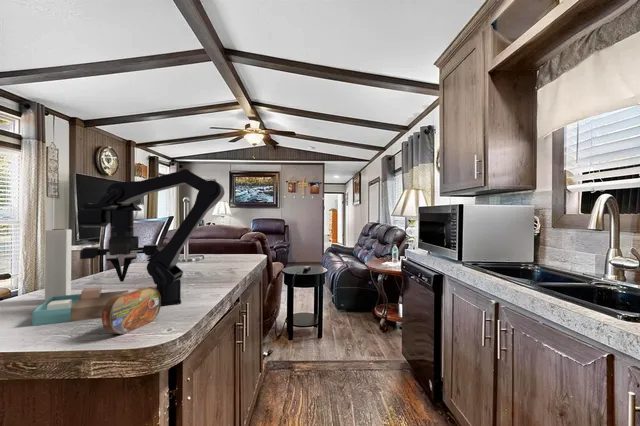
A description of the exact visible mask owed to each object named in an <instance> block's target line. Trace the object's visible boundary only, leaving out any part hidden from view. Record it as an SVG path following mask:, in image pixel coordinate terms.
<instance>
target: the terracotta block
mask: <svg viewBox="0 0 640 426" xmlns="http://www.w3.org/2000/svg"><path fill="white" fill-rule="evenodd" d="M101 293H102V286H101V287H100V286H99V287H87V288H86V287H85V288H83V289H82V290H81V292H80V294H81V299H87V298H97V297H100V296H101Z"/></svg>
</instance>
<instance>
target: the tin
mask: <svg viewBox="0 0 640 426" xmlns="http://www.w3.org/2000/svg"><path fill="white" fill-rule="evenodd" d="M154 287H155V286H144V287H142V286H141V287H138V288H134V289H131V290H128V292H125V293H122V294H119V295H115V296H113V297H112V298H110V299H109V300H108V301H107V303H106V304H105V306H104V308H103V311H102V318H101V322H102V327H103V328H104V330H105V331H106V332H107V333H109V334H115V335H116V334H118V335H125V334H127V333H128V334H129V333H130V332H133V331H134V330H137V329H140V327H143V326H145V325H148V324H150V323H151V322H153V321H154V320H155V319H156V318H157V316H158V315H159V313H160V310H161V297H160V293H159V292H158V290H157V289H156V288H154Z"/></svg>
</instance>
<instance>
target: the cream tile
mask: <svg viewBox="0 0 640 426" xmlns="http://www.w3.org/2000/svg"><path fill="white" fill-rule="evenodd" d="M69 307H72V299H69V300H58V301H51V302H50V303H49V304H48V305H47V310H50V309H59V308H69Z"/></svg>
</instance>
